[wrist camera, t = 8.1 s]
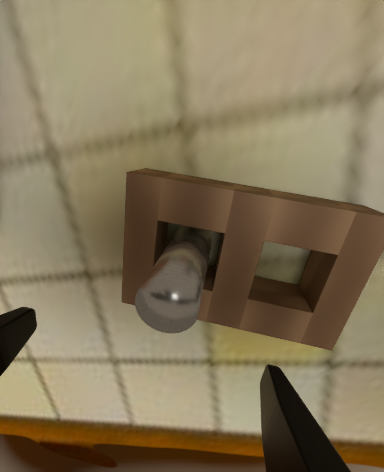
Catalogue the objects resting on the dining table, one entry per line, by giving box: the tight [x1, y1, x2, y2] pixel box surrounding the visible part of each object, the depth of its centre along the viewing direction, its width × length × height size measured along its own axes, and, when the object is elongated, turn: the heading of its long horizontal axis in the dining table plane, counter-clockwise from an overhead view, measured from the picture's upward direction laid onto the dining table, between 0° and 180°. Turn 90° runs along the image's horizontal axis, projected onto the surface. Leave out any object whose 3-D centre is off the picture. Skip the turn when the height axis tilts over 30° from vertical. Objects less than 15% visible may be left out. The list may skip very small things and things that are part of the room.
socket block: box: [122, 168, 384, 350], centre depth 17 cm, size 16×10×4 cm, turn 81°
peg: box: [135, 225, 212, 333], centre depth 14 cm, size 3×3×9 cm
